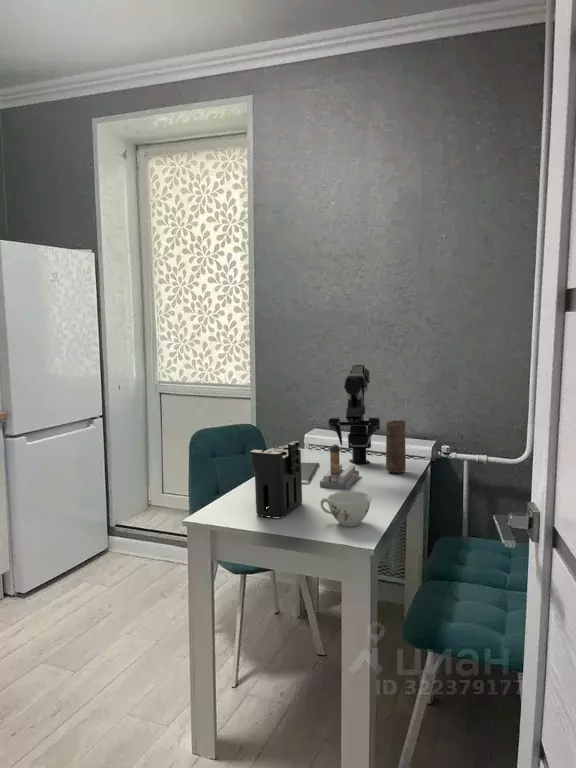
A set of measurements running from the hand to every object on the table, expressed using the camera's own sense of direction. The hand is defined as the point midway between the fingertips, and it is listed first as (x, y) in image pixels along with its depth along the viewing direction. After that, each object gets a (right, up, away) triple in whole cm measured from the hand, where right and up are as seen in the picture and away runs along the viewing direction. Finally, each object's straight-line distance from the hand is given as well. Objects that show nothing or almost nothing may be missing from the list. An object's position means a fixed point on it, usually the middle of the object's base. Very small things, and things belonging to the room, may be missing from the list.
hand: (353, 445), depth 211 cm
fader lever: (-7, -12, -5) cm, 15 cm away
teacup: (-7, -18, -41) cm, 46 cm away
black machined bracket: (-25, -17, -27) cm, 41 cm away
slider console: (-5, -13, +1) cm, 14 cm away
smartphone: (-20, -13, +13) cm, 28 cm away
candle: (+17, -12, +10) cm, 23 cm away
